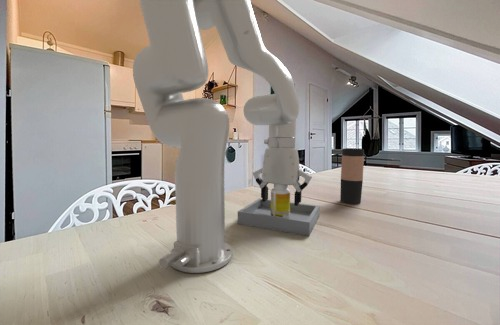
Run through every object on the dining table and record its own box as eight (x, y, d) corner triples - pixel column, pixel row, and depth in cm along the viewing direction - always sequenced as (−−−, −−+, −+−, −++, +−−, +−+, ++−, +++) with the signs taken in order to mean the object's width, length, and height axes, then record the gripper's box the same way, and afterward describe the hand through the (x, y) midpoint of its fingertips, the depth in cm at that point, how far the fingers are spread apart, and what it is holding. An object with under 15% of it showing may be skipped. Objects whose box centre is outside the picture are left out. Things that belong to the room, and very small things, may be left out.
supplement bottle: (293, 217, 72) (294, 182, 71) (280, 221, 68) (281, 185, 67) (279, 212, 76) (280, 180, 75) (266, 216, 72) (267, 182, 71)
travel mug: (335, 199, 95) (337, 148, 93) (351, 198, 98) (354, 148, 95) (348, 205, 88) (351, 149, 86) (366, 203, 90) (369, 149, 88)
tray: (309, 236, 61) (309, 222, 60) (237, 223, 69) (237, 211, 69) (319, 216, 75) (319, 205, 75) (259, 208, 84) (259, 198, 83)
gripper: (248, 143, 70) (248, 202, 72) (310, 145, 63) (307, 210, 65) (258, 143, 77) (258, 196, 79) (315, 144, 70) (312, 202, 71)
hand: (280, 202), depth 72 cm, fingers open, 9 cm apart
